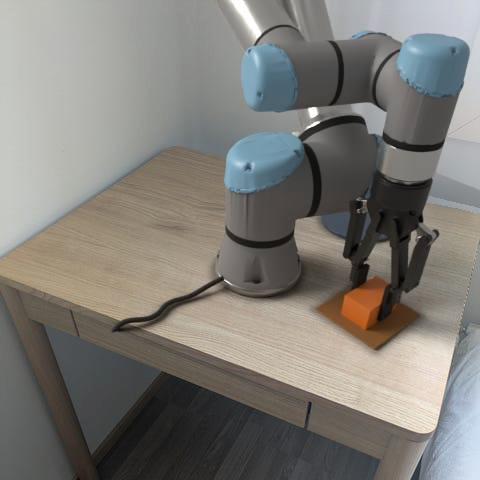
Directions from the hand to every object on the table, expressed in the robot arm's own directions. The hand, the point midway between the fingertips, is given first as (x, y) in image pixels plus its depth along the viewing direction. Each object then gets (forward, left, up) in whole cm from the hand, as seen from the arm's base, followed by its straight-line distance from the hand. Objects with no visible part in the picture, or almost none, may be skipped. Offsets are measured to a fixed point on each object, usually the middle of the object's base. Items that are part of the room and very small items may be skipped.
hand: (369, 307), depth 80 cm
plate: (+22, +19, -1) cm, 29 cm away
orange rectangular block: (0, 0, -1) cm, 1 cm away
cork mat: (0, 0, -1) cm, 1 cm away
